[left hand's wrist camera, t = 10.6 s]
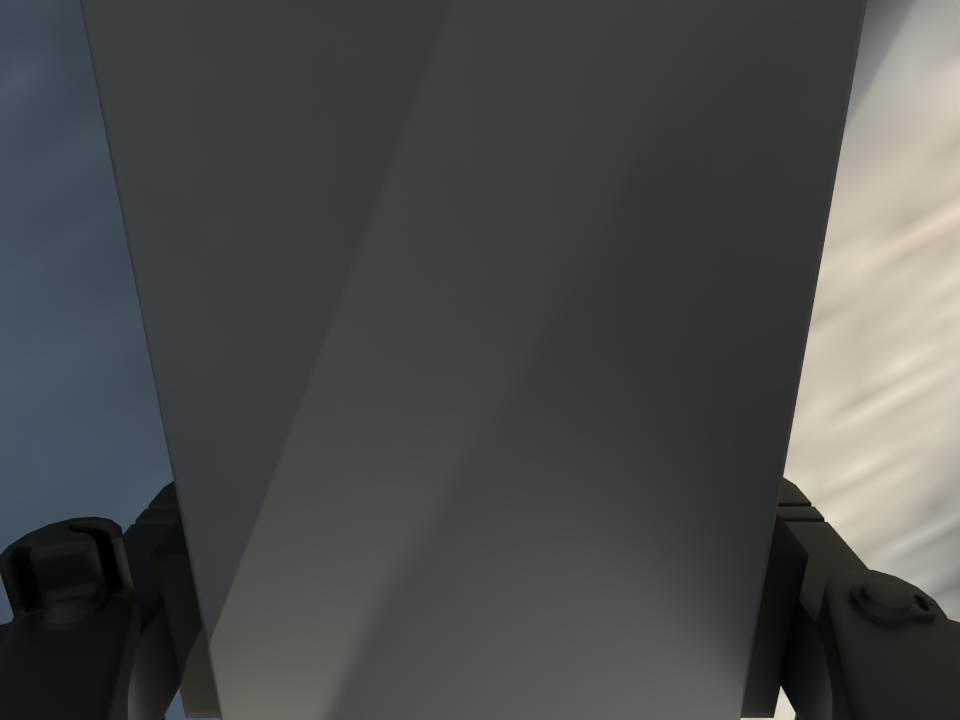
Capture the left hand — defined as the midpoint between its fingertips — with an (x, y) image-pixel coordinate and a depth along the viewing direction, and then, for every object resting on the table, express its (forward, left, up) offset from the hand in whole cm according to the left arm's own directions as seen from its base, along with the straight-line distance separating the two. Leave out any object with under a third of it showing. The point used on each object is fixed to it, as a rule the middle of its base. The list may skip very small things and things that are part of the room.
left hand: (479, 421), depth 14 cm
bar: (+16, +28, -1) cm, 32 cm away
